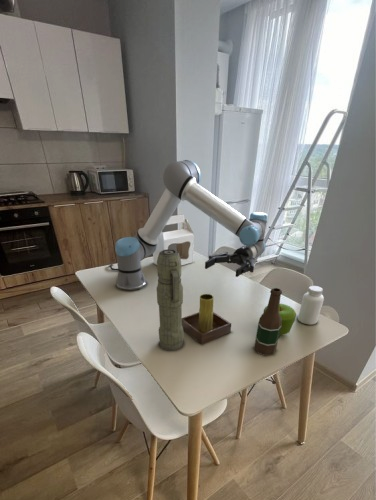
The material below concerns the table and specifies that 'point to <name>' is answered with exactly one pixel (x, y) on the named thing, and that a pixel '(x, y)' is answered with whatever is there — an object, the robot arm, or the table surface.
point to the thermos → (170, 299)
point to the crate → (219, 330)
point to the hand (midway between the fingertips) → (220, 269)
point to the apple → (286, 318)
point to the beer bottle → (269, 325)
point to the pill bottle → (311, 305)
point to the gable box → (177, 240)
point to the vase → (206, 313)
